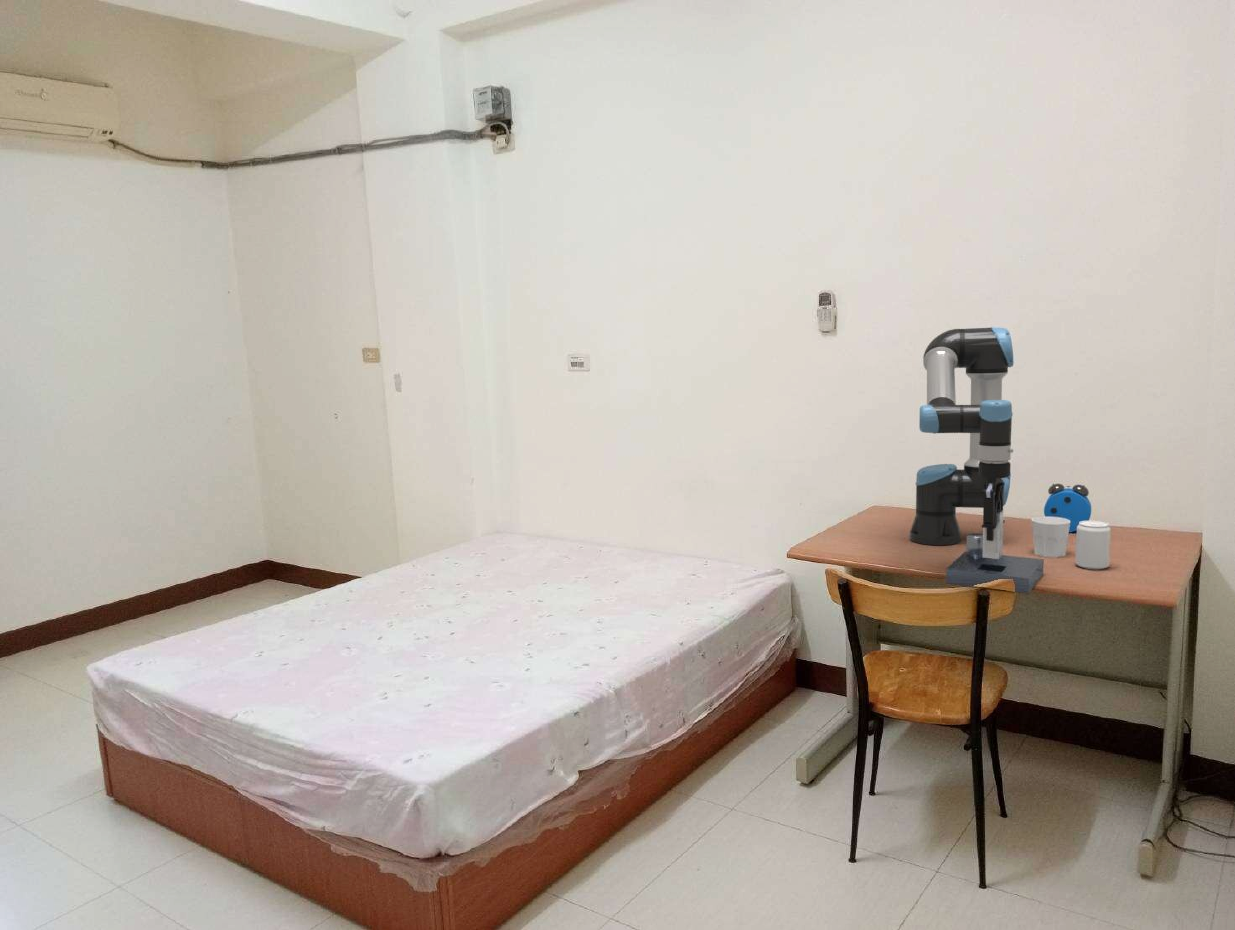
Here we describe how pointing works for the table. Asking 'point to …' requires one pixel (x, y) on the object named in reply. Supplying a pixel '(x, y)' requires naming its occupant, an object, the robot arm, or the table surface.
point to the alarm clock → (1068, 504)
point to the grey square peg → (999, 538)
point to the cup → (1050, 536)
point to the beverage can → (1093, 545)
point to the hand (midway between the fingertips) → (992, 550)
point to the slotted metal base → (993, 568)
